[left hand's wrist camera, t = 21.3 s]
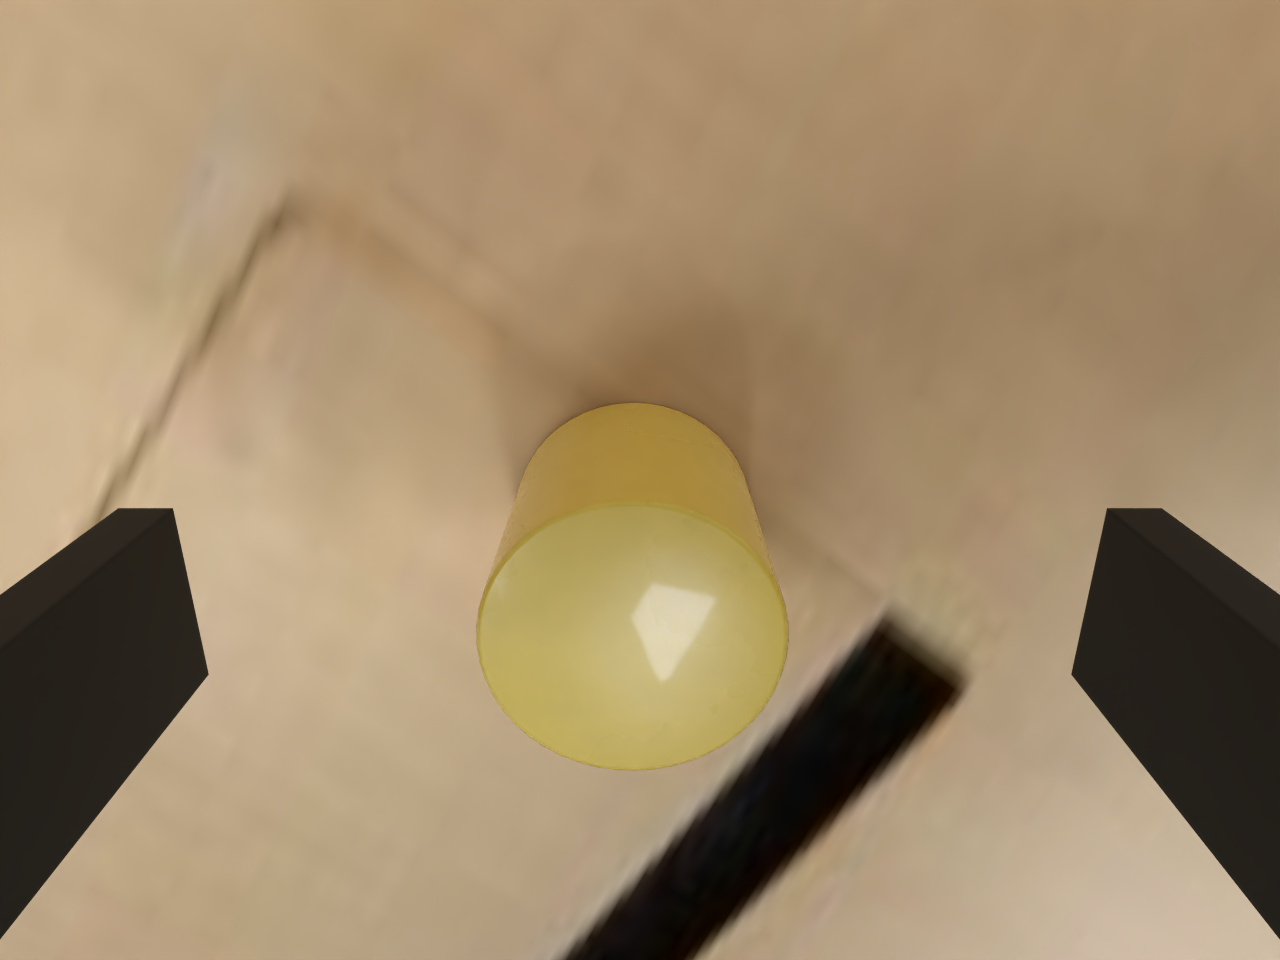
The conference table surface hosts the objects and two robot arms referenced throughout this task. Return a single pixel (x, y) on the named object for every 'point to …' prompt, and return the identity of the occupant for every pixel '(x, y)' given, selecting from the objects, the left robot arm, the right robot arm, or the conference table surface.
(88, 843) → the conference table surface
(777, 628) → the yellow cylinder
